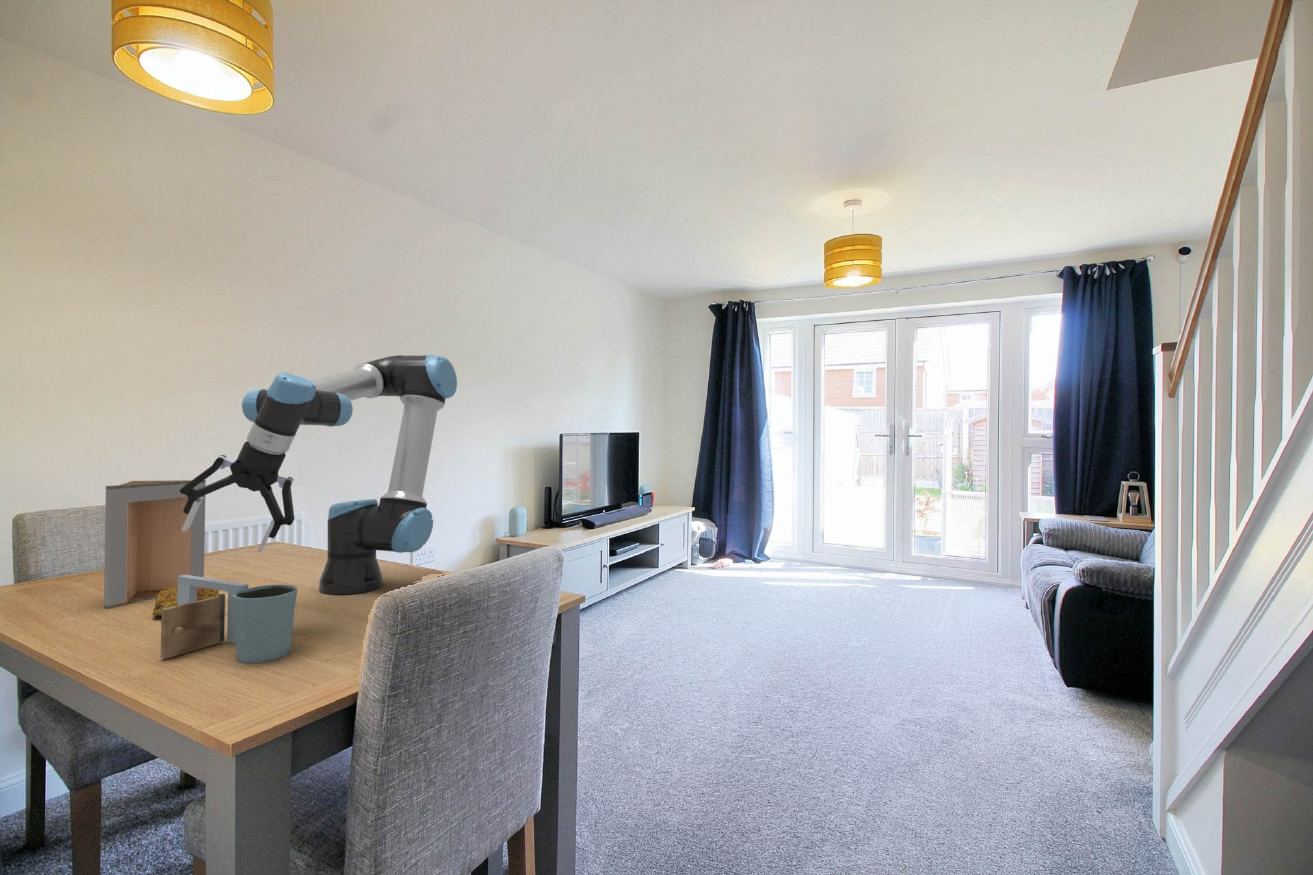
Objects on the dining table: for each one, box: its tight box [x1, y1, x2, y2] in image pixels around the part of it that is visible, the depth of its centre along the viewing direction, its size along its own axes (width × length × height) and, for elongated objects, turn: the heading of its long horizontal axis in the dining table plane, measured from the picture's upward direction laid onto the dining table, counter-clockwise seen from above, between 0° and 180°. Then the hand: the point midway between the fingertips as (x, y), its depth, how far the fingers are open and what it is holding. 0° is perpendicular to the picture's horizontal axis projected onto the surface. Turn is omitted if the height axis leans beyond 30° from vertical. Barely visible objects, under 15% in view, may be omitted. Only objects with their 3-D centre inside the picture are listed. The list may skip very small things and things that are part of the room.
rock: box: [152, 576, 220, 617], centre depth 136 cm, size 11×8×10 cm
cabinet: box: [103, 479, 207, 610], centre depth 147 cm, size 21×10×28 cm, turn 161°
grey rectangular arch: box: [177, 575, 249, 645], centre depth 121 cm, size 18×2×12 cm, turn 71°
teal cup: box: [233, 584, 298, 664], centre depth 113 cm, size 10×10×12 cm
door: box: [160, 593, 226, 660], centre depth 113 cm, size 10×2×9 cm, turn 156°
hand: (223, 539), depth 122 cm, fingers open, 13 cm apart
